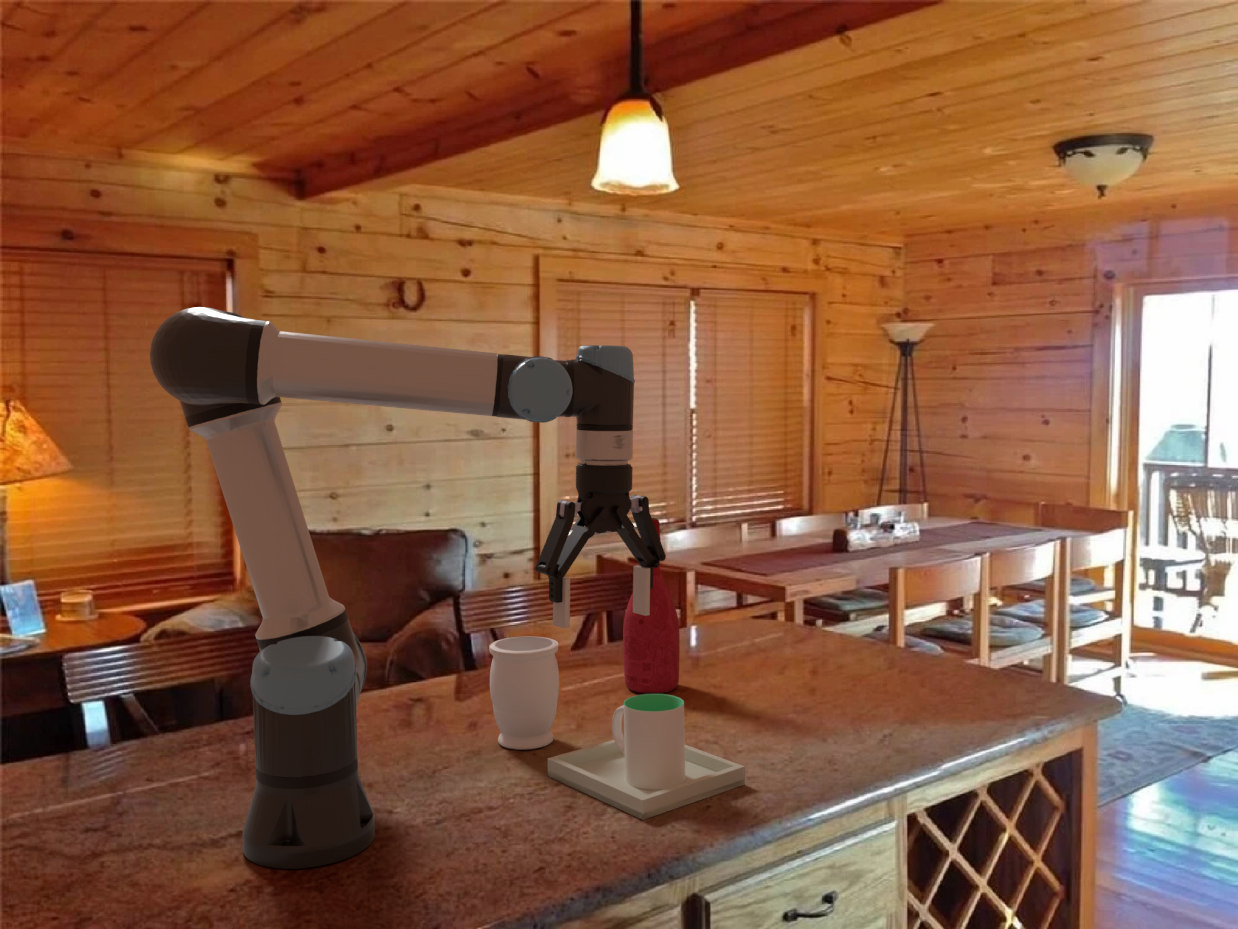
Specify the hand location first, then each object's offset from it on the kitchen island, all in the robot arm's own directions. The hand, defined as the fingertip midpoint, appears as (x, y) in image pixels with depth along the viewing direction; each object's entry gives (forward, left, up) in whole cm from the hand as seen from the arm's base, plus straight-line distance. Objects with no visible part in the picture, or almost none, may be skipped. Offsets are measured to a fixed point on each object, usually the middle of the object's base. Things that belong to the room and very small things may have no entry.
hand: (602, 620), depth 149 cm
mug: (+4, -4, -21) cm, 22 cm away
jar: (+1, +20, -22) cm, 30 cm away
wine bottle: (+34, +29, -22) cm, 50 cm away
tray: (+4, -4, -22) cm, 23 cm away
